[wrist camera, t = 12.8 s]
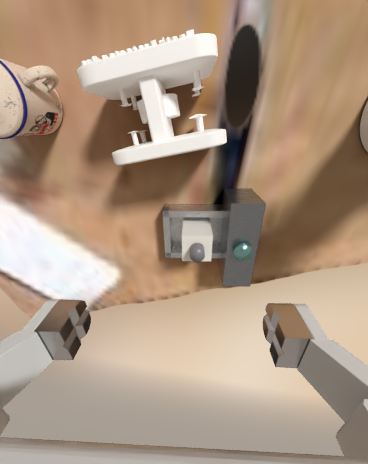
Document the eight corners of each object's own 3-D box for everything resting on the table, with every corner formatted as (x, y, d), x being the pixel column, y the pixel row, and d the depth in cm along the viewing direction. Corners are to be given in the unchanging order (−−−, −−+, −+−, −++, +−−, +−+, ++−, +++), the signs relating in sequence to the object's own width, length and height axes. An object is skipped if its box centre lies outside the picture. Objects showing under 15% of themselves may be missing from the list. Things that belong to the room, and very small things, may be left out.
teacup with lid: (34, 145, 34) (-34, 153, 24) (-8, 86, 30) (-112, 64, 20) (92, 112, 31) (43, 105, 21) (53, 43, 28) (-30, -8, 17)
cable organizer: (130, 157, 34) (104, 170, 24) (109, 83, 30) (65, 60, 19) (217, 139, 33) (229, 145, 22) (209, 58, 28) (219, 17, 18)
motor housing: (251, 188, 36) (268, 206, 28) (240, 260, 44) (251, 291, 35) (163, 188, 37) (155, 206, 28) (167, 259, 44) (162, 289, 36)
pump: (209, 218, 38) (214, 242, 30) (208, 240, 40) (212, 268, 32) (183, 218, 38) (181, 242, 30) (183, 240, 40) (181, 268, 32)
